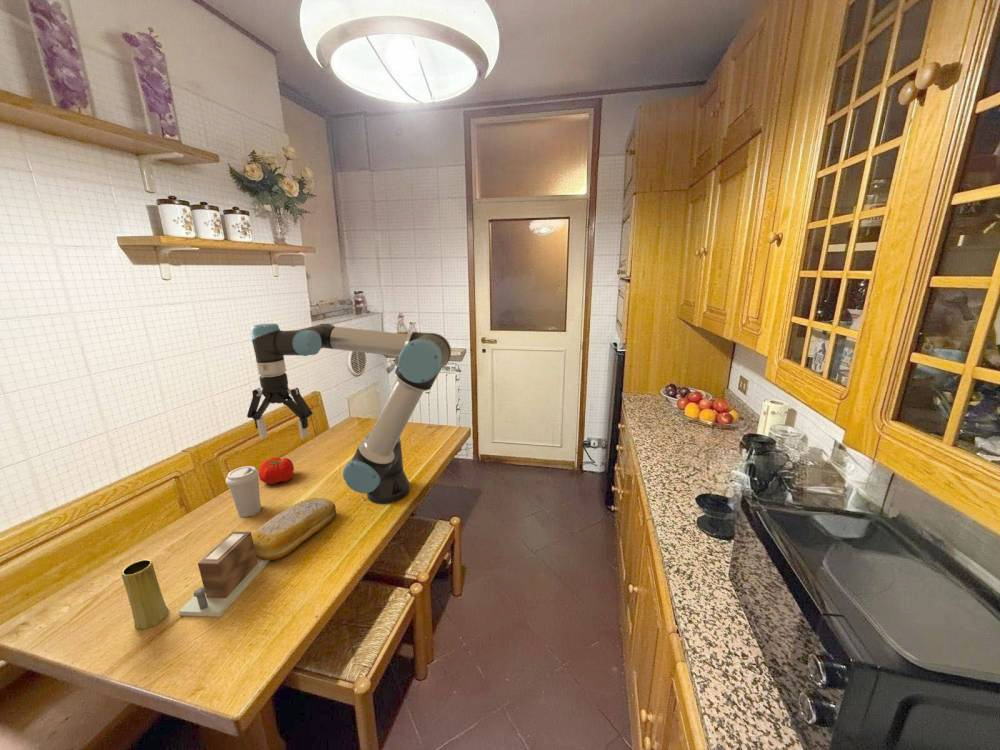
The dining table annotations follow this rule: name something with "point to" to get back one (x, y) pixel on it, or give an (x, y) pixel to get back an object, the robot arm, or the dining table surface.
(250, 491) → the coffee cup
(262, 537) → the bread
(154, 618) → the vase
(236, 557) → the brown block
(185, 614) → the white board with pegs
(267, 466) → the tomato
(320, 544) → the dining table surface
